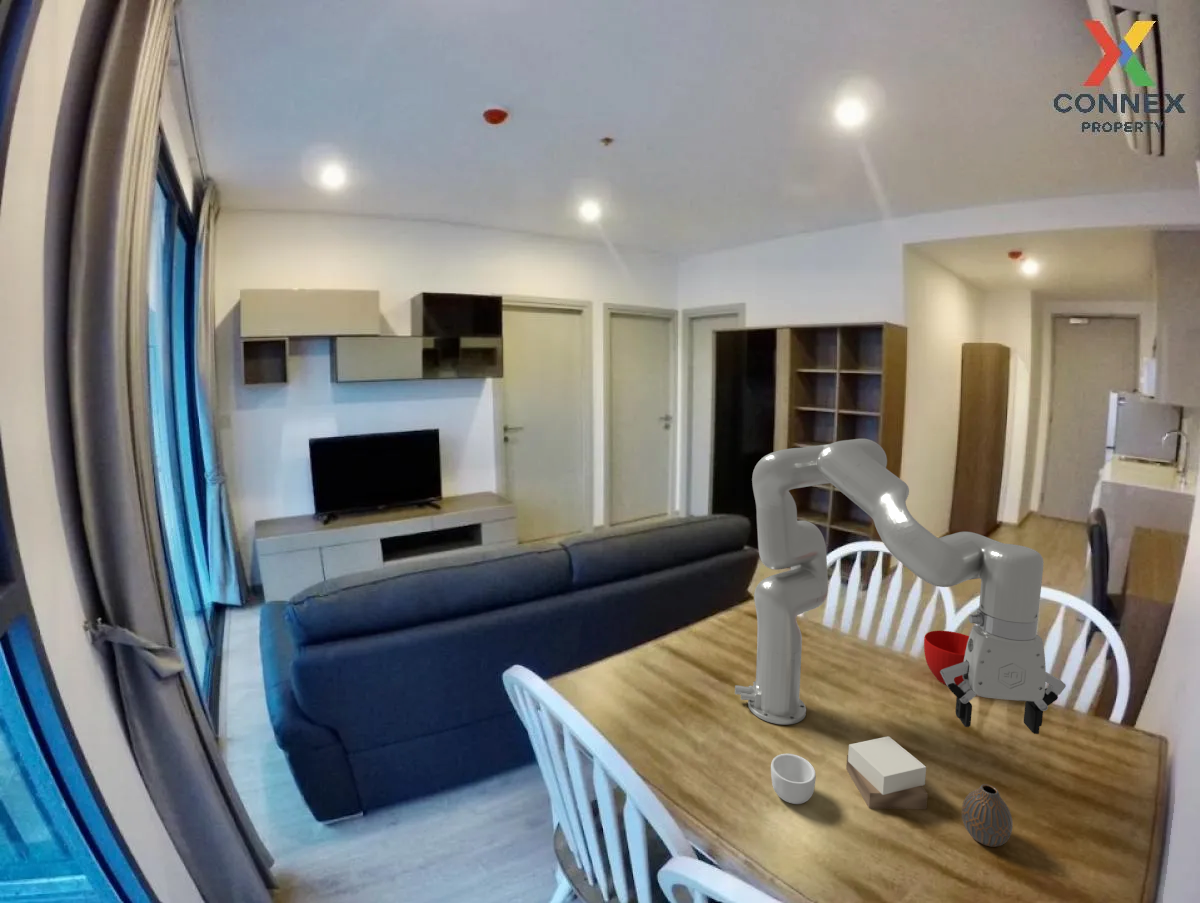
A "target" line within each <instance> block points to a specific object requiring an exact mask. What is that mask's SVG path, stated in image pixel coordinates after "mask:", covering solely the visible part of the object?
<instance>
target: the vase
mask: <svg viewBox="0 0 1200 903" xmlns="http://www.w3.org/2000/svg"><path fill="white" fill-rule="evenodd" d="M961 806H962V807H961V819H962V823H963V825H964V827H965V829H966V831H967V832H968V834H970V836H971V837H972V838H973V839H974V840H975V841H976V842H978V843H980V844H981V845H983V846H987V847H993V848H994V847H1000V846H1003V845H1004V844H1005V843H1007V842H1008V840H1010V838H1011V835H1012V832H1013V817H1012V814H1011V811H1010V808H1009V807H1008V806H1007V804H1006V802H1005V801H1004V799H1003V798H1002V797H1001V795H1000V792H999V790H998V789H997V788H996V787H995V786H992V785H990V784H987V783H986V784H985V783H983V784H981V785H980V786H979V787H978V788H976V789H974V790H973V791H971V792H969V793H968V794H967V795H966V797H965V798H964V800H963V803H962V805H961Z"/></svg>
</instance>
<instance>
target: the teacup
mask: <svg viewBox="0 0 1200 903" xmlns="http://www.w3.org/2000/svg"><path fill="white" fill-rule="evenodd" d="M770 775H771V776H770V778H771V785H772V787H773V790H774V792H775V794H776V795H777V796H778V797H779V799H781V800H783V801H785V802H787V803H790V804H793V805H801V804H804V803H806V802H808V801H809V800H810V799H811V797H812V796H813V794H814V791H815V786H816V781H817V780H816V777H817V775H816V770H815V768H814V766H813V765H812V764H811V762H809V760H808V759H807V758H806V759H805V758H804V757H802V756H801V755H797V754H793V753H781V754H778V755H776V756H774V757H773V759H772V760H771V764H770Z"/></svg>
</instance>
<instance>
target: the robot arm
mask: <svg viewBox="0 0 1200 903" xmlns="http://www.w3.org/2000/svg"><path fill="white" fill-rule="evenodd" d="M887 465H888V458H887V454H886V451H885V450H884V449H883V447H882V446H881V445H880V444H879V443H877V442H876V441H874V440H871V439H869V438H868V439H867V438H855V439H844V440H838V441H835V442H831V443H828V444H820V445H811V446H803V447H793V448H785V449H784V448H783V449H780V450H777V451H773V452H770V453H768V454H766V455H764V456H763V457H761V459H760V460H759V461H758V462H757V463H756V465H755V466H754V469H753V472H752V478H751V481H752V482H751V483H752V484H751V485H752V491H753V496H754V500H755V509H756V510H755V511H756V529H757V530H756V531H757V548H758V554H759V559H760V560H761V563H762V564H763V565H764V566H765V567H766V568H767V569H771V570H784V569H788V568H790V570H787V571H783V572H779V573H776V574H773V575H770V576H767V577H766V578H763V579H762V580H761V581H759V582H758V584H757V586H756V587H755V590H754V595H753V596H754V597H753V598H754V605H755V606H754V607H755V611H756V612H755V613H756V621H757V625H756V626H757V636H756V642H757V644H756V646H757V647H756V669H755V670H756V673H755V680H754V681H753V682H752V684H753V685H748V686H743V685H738V684H737V685H734V695H740V700H742V701H747V705H748V709H749V710H750V711H751V713H752V714H753V715H755V716H756V717H757V718H759V719H761V720H763V721H765V722H768V723H771V724H776V725H794V724H797V723H799V722H802V721H803V720H804V719H805V717H806V714H807V707H806V704H805V703H804V701H803V700H801V698H800V691H801V690H800V688H801V671H802V670H801V668H802V666H801V665H802V646H803V645H802V644H803V637H802V632H801V629H800V626H799V624H798V621H797V617H798V616H799V615H802V614H804V613H806V612H809V611H812V610H815V609H817V608H819V607H820V606H822V605H823V604H824V602H825V601H826V600H827V596H828V593H829V592H828V591H829V580H828V579H829V578H828V561H827V560H828V559H827V546H826V545H827V544H826V541H825V538H824V536H823V533H822V531H821V530H820V528H818V526H817V525H816V524H814V523H812V522H810V521H808V520H798V510H797V505H796V504H797V503H796V501H795V499H794V497H793V495H792V494H791V492H790V491H791V490H794V489H801V488H806V487H813V486H819V485H826V484H831V485H832V486H833V487H834V488H836V489H837V490H838V491H839V492H841V493H842V494H843V496H844V495H845V497H847V498H848V499H849V500H850V501H851V502H853V503H854V504H855V506H856V505H857V506H858V507H859V508H860V509H861V510H862V511H863V512H865V513H866V514H867V516H869V517H870V518H871V519H872V520H873V524H874V526H875V528H876V531H877V534H878V535H879V537H880V539H881V542H882V543H883V545H884V546H885V548H886V549H887V550H888V552H889V553H890V554H891V555H892V556H893V557H894V558H895V559H897V560H898V561H899V563H901V564H902V565H903V566H904V567H905V568H907V569H908V570H909V571H910V572H912V573H913V574H914V575H916V576H917V577H918V578H919V579H921V580H922V581H924V582H926V583H927V584H930V585H932V586H935V587H939V588H940V587H941V588H950V587H953V586H957V585H960V584H961V583H963V582H967V581H971V580H977V579H979V580H980V592H979V593H980V594H979V606H978V608H977V611H976V613H974V614H969V615H968V622H969V623H970V624H975V625H973V626H972V629H971V630H970V634H969V635H968V636H969V639H968V643H967V647H966V651H965V656H964V662H962V663H959V664H956V665H953V666H950V667H948V668H945V669H942V670H941V671H940V673H941V675H942V677H943V679H944V681H945V683H946V685H945V686H946V687H947V688H948V689H949V691H951V693H952V694H953V695H954V696H955V697H956V702H955V711H954V712H955V715H956V718H958V719H959V720H960V722H961V724H962V725H963V726H964V727H965V728H969V727H971V724H972V714H973V713H972V711H973V704H972V703H971V702H970V701H971V700H973V699H975V697H976V696H978V697H982V698H985V699H986V698H987V699H994V700H995V699H997V700H1006V701H1018V702H1025V704H1024V714H1023V724H1024V725H1025V726H1026V727H1027V728H1028V729H1029V730H1030V732H1031V733H1032V734H1034V735H1039V734H1040V727H1042V725H1043V718H1044V717H1043V716H1044V712H1045V711H1047V710H1048V709H1049V706H1050V705H1051V704H1053V703H1055V702H1056V701H1057V700H1058V698H1059V695H1061V693H1062V692H1063V691H1064V690H1065V689H1066V687H1067V684H1066V683H1065V682H1064V681H1062V680H1061V679H1060V678H1058V677H1056V676H1054V675H1053V674H1051V673H1049V672H1047V671H1046V670H1047V669H1046V666H1047V665H1046V657H1045V656H1046V655H1045V647H1044V640H1043V638H1042V637H1041V636H1040V635H1039V634H1037V631H1038V622H1039V619H1038V618H1039V611H1040V605H1041V604H1040V603H1041V602H1040V601H1041V592H1042V583H1043V575H1044V574H1043V572H1044V564H1045V562H1044V558H1043V556H1042V554H1041V553H1040V552H1039V551H1037V550H1035V549H1033V548H1031V547H1028V546H1024V545H1019V544H1014V543H1013V544H1012V543H1003V542H1001V541H998V540H995V539H992V538H991V537H990V538H989V537H987V536H984V535H982V534H980V533H977V532H976V533H975V532H972V531H959V532H955V533H952V534H947V535H945V536H940V537H937V536H936V535H934V534H933V533H932V532H931V531H929V530H928V529H927V528H925V526H923V525H922V524H921V523H919V521H918V520H916V519H915V518H914V517H913V515H912V514H911V513H910V511H909V509H908V507H907V504H906V501H907V499H908V497H909V495H910V488H909V486H908V484H907V483H906V482H905V481H904V480H902V479H901V478H899V477H898V476H897V475H896V474H894V473H893V472H891V471H890V470H889V469H888V468H887ZM961 675H962V676H963V680H964V681H963V682H962V683H960V684H959V685H958V686H957V685H956V684H955V682H954V678H955V677H958V676H961ZM1046 684H1048V686H1047V687H1046Z"/></svg>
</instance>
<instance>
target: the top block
mask: <svg viewBox="0 0 1200 903" xmlns="http://www.w3.org/2000/svg"><path fill="white" fill-rule="evenodd" d="M847 755H848V762H849V763H850V764H851V765H852V766H853V767H854V768H855V769H856V770H857V771H858V772H860V773H861V774H862V775H863V776H864V777H865V778H866V779H867V780H868V781H869V782H870V783H871V784H872V785H873V786H874V787H875V788H876V789H877V790H878V791H879V792H880V793H881V794H882V795H884V794H889V793H893V792H897V791H901V790H905V789H909V788H913V787H917V786H922V787H923V786H925V784H926V777H927V776H926V775H927V774H926V773H927V766H925V764H923V763H922V762H921V761H920V760H918V758H916V757H915V756H914V755H912V754H911V753H910V752H908V751H907V750H906V749H905V748H903V747H902V746H901V745H900V744H899V743H898V742H896V741H895V740H894V739H892V737H890V735H888V736H883V737H879V738H878V737H877V738H873V739H869V740H864V741H859V742H856V743H855V742H854V743H850V744H848V752H847Z"/></svg>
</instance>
